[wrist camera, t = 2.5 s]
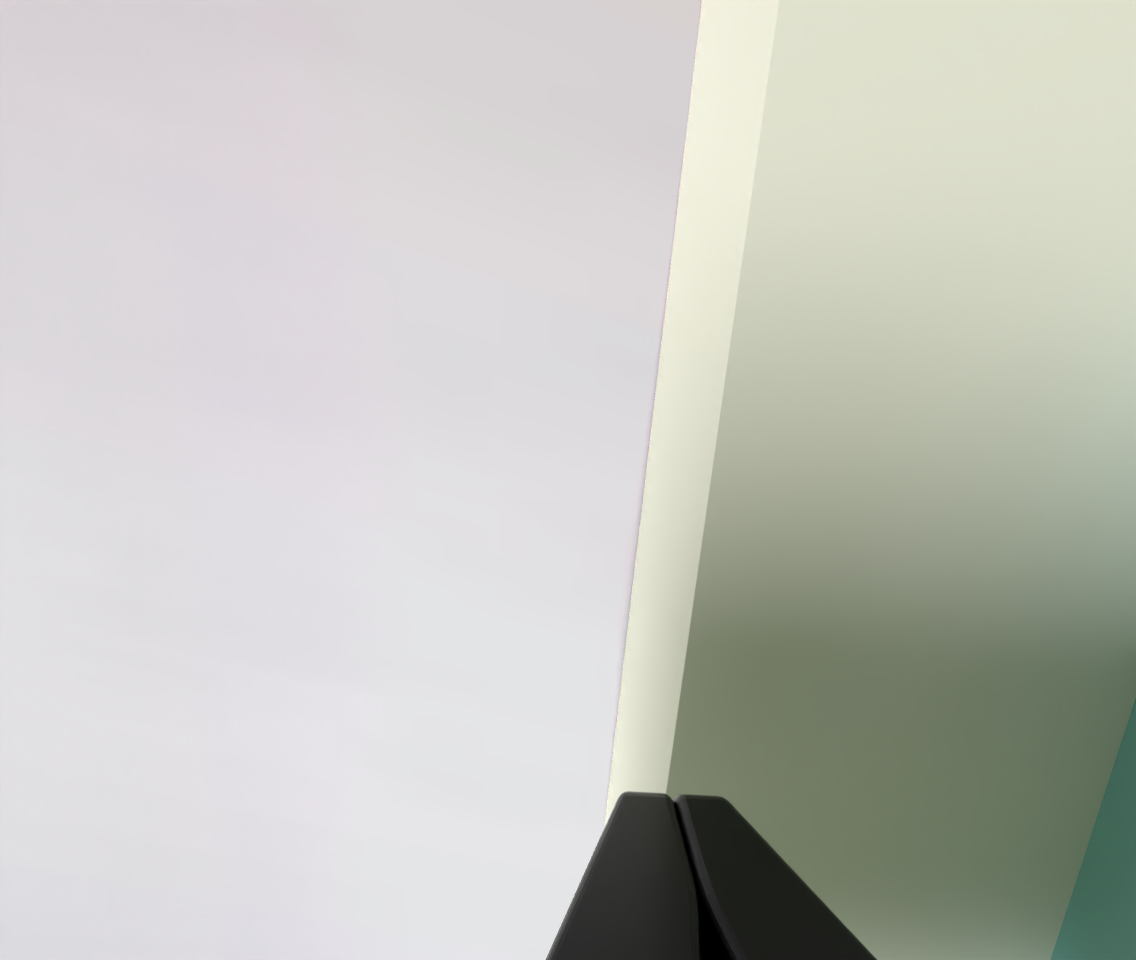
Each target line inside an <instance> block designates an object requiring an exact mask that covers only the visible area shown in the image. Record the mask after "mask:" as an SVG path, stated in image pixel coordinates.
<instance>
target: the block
mask: <svg viewBox="0 0 1136 960" xmlns="http://www.w3.org/2000/svg"><path fill="white" fill-rule="evenodd" d="M1051 960H1136V699H1135V702H1134V705H1133V708H1132V711H1131V714H1130V717H1129V720H1128V723H1127V726H1126V729H1125V732H1124V735H1123V739H1122V742H1121V745H1120V748H1119V751H1118V754H1117V757H1116V760H1115V763H1114V766H1113V769H1112V772H1111V775H1110V778H1109V782H1108V785H1107V788H1106V791H1105V794H1104V797H1103V800H1102V803H1101V806H1100V809H1099V812H1098V815H1097V818H1096V822H1095V825H1094V828H1093V831H1092V834H1091V837H1090V840H1089V843H1088V846H1087V849H1086V852H1085V855H1084V858H1083V861H1082V865H1081V868H1080V871H1079V874H1078V877H1077V880H1076V883H1075V886H1074V889H1073V892H1072V895H1071V898H1070V901H1069V905H1068V908H1067V911H1066V914H1065V917H1064V920H1063V923H1062V926H1061V929H1060V932H1059V935H1058V938H1057V941H1056V944H1055V948H1054V951H1053V954H1052V957H1051Z"/></svg>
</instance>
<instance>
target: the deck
mask: <svg viewBox="0 0 1136 960" xmlns="http://www.w3.org/2000/svg"><path fill="white" fill-rule="evenodd" d="M1135 699H1136V0H702V6H701V14H700V22H699V31H698V39H697V48H696V56H695V65H694V73H693V81H692V90H691V98H690V107H689V115H688V124H687V132H686V140H685V149H684V157H683V166H682V174H681V183H680V191H679V199H678V208H677V216H676V225H675V233H674V242H673V250H672V258H671V267H670V275H669V284H668V292H667V301H666V309H665V317H664V326H663V334H662V343H661V351H660V360H659V368H658V376H657V385H656V393H655V402H654V410H653V419H652V427H651V435H650V444H649V452H648V461H647V469H646V478H645V486H644V495H643V503H642V511H641V520H640V528H639V537H638V545H637V554H636V562H635V570H634V579H633V587H632V596H631V604H630V613H629V621H628V629H627V638H626V646H625V655H624V663H623V672H622V680H621V688H620V697H619V705H618V714H617V722H616V731H615V739H614V747H613V756H612V764H611V773H610V781H609V790H608V798H607V806H606V815H605V823H604V828H605V826H606V824H607V822H608V819H609V817H610V815H611V813H612V810H613V808H614V806H615V804H616V801H617V799H618V797H619V796H620V795H621V794H622V793H623V792H626V791H634V792H653V793H665V794H667V795H668V796H670V797H671V798H672V800H674V798H675V797H676V796H677V795H679V794H691V795H711V796H721V797H723V798H725V799H727V800H728V801H729V802H730V803H731V804H732V805H733V806H734V807H735V808H736V809H737V810H738V811H739V812H740V814H741V815H742V816H743V817H744V818H745V819H746V820H747V821H748V822H749V823H750V824H751V825H752V826H753V827H754V829H755V830H756V831H757V832H758V833H759V834H760V835H761V836H762V837H763V838H764V839H765V840H766V841H767V842H768V843H769V845H770V846H771V847H772V848H773V849H774V850H775V851H776V852H777V853H778V854H779V855H780V856H781V857H782V858H783V860H784V861H785V862H786V863H787V864H788V865H789V866H790V867H791V868H792V869H793V870H794V871H795V872H796V873H797V874H798V876H799V877H800V878H801V879H802V880H803V881H804V882H805V883H806V884H807V885H808V886H809V887H810V888H811V889H812V891H813V892H814V893H815V894H816V895H817V896H818V897H819V898H820V899H821V900H822V901H823V902H824V903H825V904H826V905H827V907H828V908H829V909H830V910H831V911H832V912H833V913H834V914H835V915H836V916H837V917H838V918H839V919H840V920H841V922H842V923H843V924H844V925H845V926H846V927H847V928H848V929H849V930H850V931H851V932H852V933H853V934H854V935H855V937H856V938H857V939H858V940H859V941H860V942H861V943H862V944H863V945H864V946H865V947H866V948H867V949H868V950H869V951H870V953H871V954H872V955H873V956H874V957H875V958H876V959H877V960H1051V957H1052V954H1053V951H1054V948H1055V944H1056V941H1057V938H1058V935H1059V932H1060V929H1061V926H1062V923H1063V920H1064V917H1065V914H1066V911H1067V908H1068V905H1069V901H1070V898H1071V895H1072V892H1073V889H1074V886H1075V883H1076V880H1077V877H1078V874H1079V871H1080V868H1081V865H1082V861H1083V858H1084V855H1085V852H1086V849H1087V846H1088V843H1089V840H1090V837H1091V834H1092V831H1093V828H1094V825H1095V822H1096V818H1097V815H1098V812H1099V809H1100V806H1101V803H1102V800H1103V797H1104V794H1105V791H1106V788H1107V785H1108V782H1109V778H1110V775H1111V772H1112V769H1113V766H1114V763H1115V760H1116V757H1117V754H1118V751H1119V748H1120V745H1121V742H1122V739H1123V735H1124V732H1125V729H1126V726H1127V723H1128V720H1129V717H1130V714H1131V711H1132V708H1133V705H1134V702H1135Z"/></svg>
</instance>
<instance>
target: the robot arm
mask: <svg viewBox="0 0 1136 960" xmlns="http://www.w3.org/2000/svg"><path fill="white" fill-rule="evenodd" d="M546 960H877V959H876V958H875V957H874V956H873V955H872V954H871V953H870V951H869V950H868V949H867V948H866V947H865V946H864V945H863V944H862V943H861V942H860V941H859V940H858V939H857V938H856V937H855V935H854V934H853V933H852V932H851V931H850V930H849V929H848V928H847V927H846V926H845V925H844V924H843V923H842V922H841V920H840V919H839V918H838V917H837V916H836V915H835V914H834V913H833V912H832V911H831V910H830V909H829V908H828V907H827V905H826V904H825V903H824V902H823V901H822V900H821V899H820V898H819V897H818V896H817V895H816V894H815V893H814V892H813V891H812V889H811V888H810V887H809V886H808V885H807V884H806V883H805V882H804V881H803V880H802V879H801V878H800V877H799V876H798V874H797V873H796V872H795V871H794V870H793V869H792V868H791V867H790V866H789V865H788V864H787V863H786V862H785V861H784V860H783V858H782V857H781V856H780V855H779V854H778V853H777V852H776V851H775V850H774V849H773V848H772V847H771V846H770V845H769V843H768V842H767V841H766V840H765V839H764V838H763V837H762V836H761V835H760V834H759V833H758V832H757V831H756V830H755V829H754V827H753V826H752V825H751V824H750V823H749V822H748V821H747V820H746V819H745V818H744V817H743V816H742V815H741V814H740V812H739V811H738V810H737V809H736V808H735V807H734V806H733V805H732V804H731V803H730V802H729V801H728V800H727V799H725V798H723V797H721V796H711V795H691V794H679V795H677V796H676V797H675V798H674V800H672V798H671V797H670V796H668V795H667V794H665V793H653V792H634V791H626V792H623V793H622V794H621V795H620V796H619V797H618V799H617V801H616V804H615V806H614V808H613V810H612V813H611V815H610V817H609V819H608V822H607V824H606V826H605V828H604V830H603V833H602V835H601V837H600V839H599V842H598V844H597V846H596V848H595V851H594V853H593V855H592V857H591V860H590V862H589V864H588V866H587V869H586V871H585V873H584V875H583V877H582V880H581V882H580V884H579V886H578V889H577V891H576V893H575V895H574V898H573V900H572V902H571V904H570V907H569V909H568V911H567V913H566V916H565V918H564V920H563V922H562V925H561V927H560V929H559V931H558V933H557V936H556V938H555V940H554V942H553V945H552V947H551V949H550V951H549V954H548V956H547V958H546Z"/></svg>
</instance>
